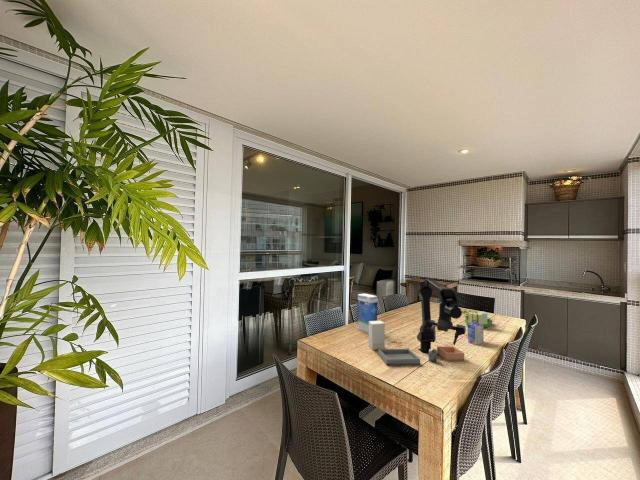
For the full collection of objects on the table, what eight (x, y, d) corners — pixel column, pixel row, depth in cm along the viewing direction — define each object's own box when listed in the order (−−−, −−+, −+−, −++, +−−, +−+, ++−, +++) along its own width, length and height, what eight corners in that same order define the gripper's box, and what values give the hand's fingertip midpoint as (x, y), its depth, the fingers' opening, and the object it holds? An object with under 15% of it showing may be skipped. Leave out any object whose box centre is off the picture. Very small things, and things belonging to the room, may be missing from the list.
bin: (437, 353, 160) (437, 346, 160) (453, 353, 161) (453, 346, 161) (446, 360, 150) (446, 353, 150) (464, 360, 151) (464, 353, 151)
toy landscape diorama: (469, 318, 241) (469, 303, 241) (496, 323, 228) (496, 307, 228) (458, 327, 214) (458, 310, 215) (488, 333, 201) (488, 314, 202)
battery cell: (427, 359, 151) (427, 347, 151) (434, 359, 152) (434, 347, 152) (430, 362, 147) (431, 350, 147) (438, 362, 148) (438, 350, 148)
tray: (378, 354, 157) (378, 349, 157) (408, 353, 159) (408, 348, 159) (386, 365, 143) (386, 359, 143) (420, 364, 145) (420, 358, 145)
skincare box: (380, 345, 171) (381, 320, 171) (385, 349, 164) (385, 323, 164) (367, 346, 169) (368, 320, 170) (371, 350, 163) (372, 323, 163)
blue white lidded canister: (377, 332, 196) (378, 296, 196) (369, 334, 191) (370, 297, 192) (364, 327, 207) (364, 293, 207) (356, 329, 202) (357, 294, 203)
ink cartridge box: (475, 340, 185) (475, 318, 185) (484, 342, 180) (484, 320, 180) (466, 342, 180) (467, 320, 180) (475, 345, 175) (475, 322, 175)
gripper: (422, 313, 140) (421, 343, 140) (463, 320, 130) (462, 353, 130) (427, 308, 149) (426, 337, 150) (466, 314, 139) (465, 345, 139)
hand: (444, 343), depth 142 cm, fingers open, 9 cm apart
